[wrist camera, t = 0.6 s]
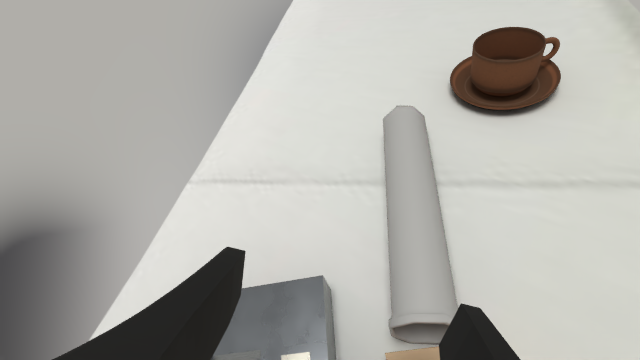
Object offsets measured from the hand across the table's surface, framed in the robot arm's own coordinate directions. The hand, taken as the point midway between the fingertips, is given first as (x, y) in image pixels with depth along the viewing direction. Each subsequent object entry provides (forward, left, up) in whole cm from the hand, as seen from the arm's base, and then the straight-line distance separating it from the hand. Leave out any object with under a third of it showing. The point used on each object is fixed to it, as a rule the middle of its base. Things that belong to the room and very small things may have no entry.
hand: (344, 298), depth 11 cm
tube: (+15, -8, -15) cm, 23 cm away
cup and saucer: (+31, -20, -18) cm, 41 cm away
